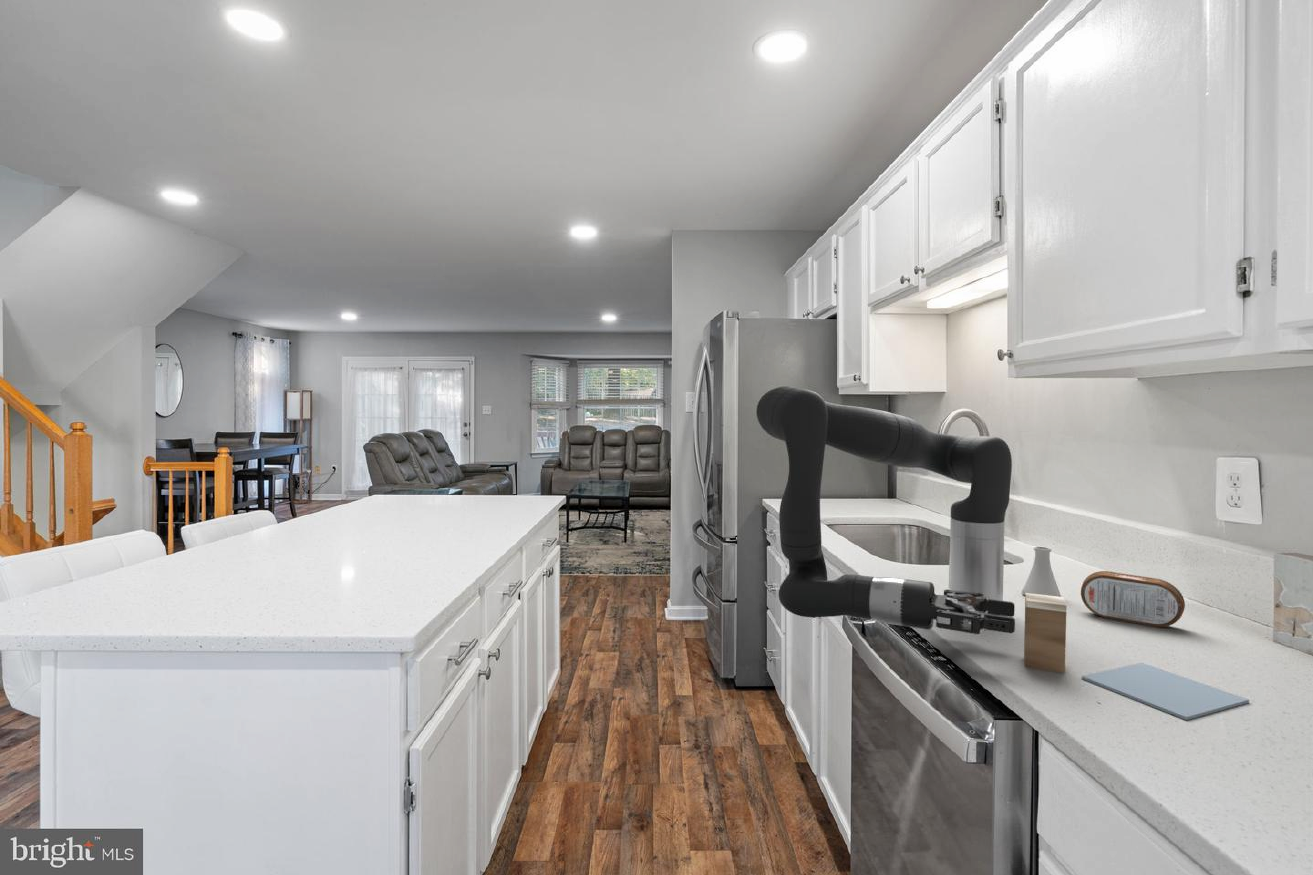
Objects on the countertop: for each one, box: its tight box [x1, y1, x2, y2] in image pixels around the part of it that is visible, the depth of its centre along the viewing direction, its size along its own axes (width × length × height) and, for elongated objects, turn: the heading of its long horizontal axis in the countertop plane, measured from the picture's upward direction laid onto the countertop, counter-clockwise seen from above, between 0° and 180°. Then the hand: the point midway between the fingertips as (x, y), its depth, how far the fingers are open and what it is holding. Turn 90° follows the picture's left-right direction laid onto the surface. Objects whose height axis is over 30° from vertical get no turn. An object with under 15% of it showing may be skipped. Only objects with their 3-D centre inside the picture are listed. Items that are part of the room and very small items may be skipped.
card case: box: [1023, 593, 1067, 674], centre depth 94 cm, size 4×5×10 cm
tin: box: [1080, 570, 1186, 628], centre depth 114 cm, size 15×3×8 cm, turn 48°
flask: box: [1021, 545, 1062, 597], centre depth 130 cm, size 7×7×10 cm
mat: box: [1081, 662, 1250, 721], centre depth 86 cm, size 13×13×1 cm
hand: (1014, 617), depth 96 cm, fingers open, 8 cm apart
